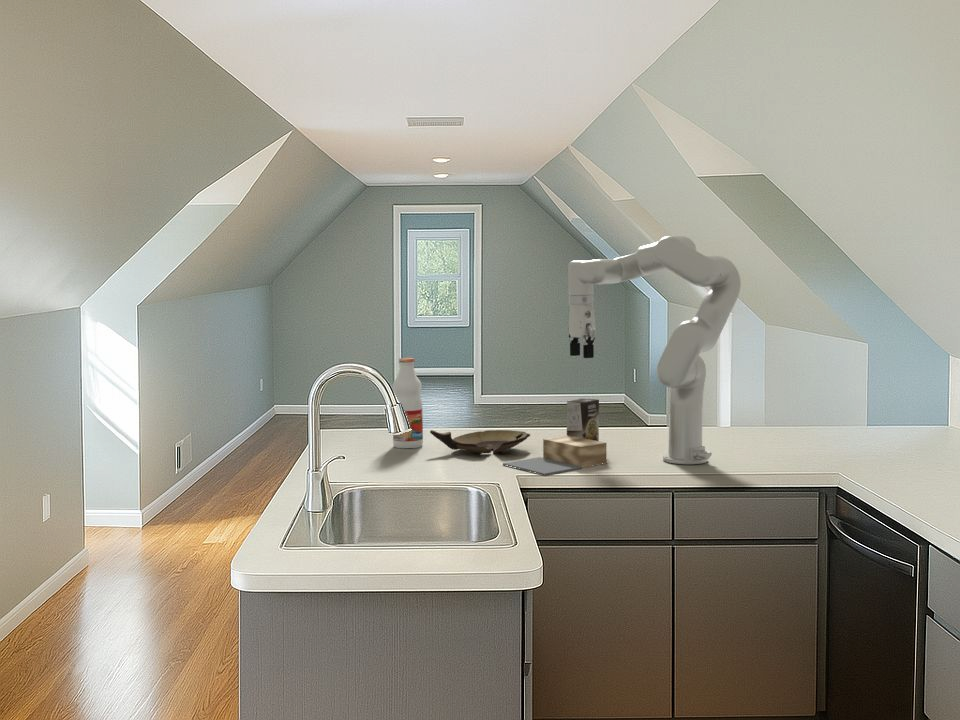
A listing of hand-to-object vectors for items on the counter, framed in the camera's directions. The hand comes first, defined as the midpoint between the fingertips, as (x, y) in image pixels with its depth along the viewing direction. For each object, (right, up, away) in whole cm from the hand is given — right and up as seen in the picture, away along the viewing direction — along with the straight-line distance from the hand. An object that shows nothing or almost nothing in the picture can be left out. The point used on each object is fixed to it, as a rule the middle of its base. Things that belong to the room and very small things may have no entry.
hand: (581, 356), depth 303 cm
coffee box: (0, -29, -4) cm, 30 cm away
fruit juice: (-54, -29, +9) cm, 62 cm away
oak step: (-4, -30, -17) cm, 35 cm away
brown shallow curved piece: (-31, -29, 0) cm, 43 cm away
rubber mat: (-14, -31, -24) cm, 42 cm away
